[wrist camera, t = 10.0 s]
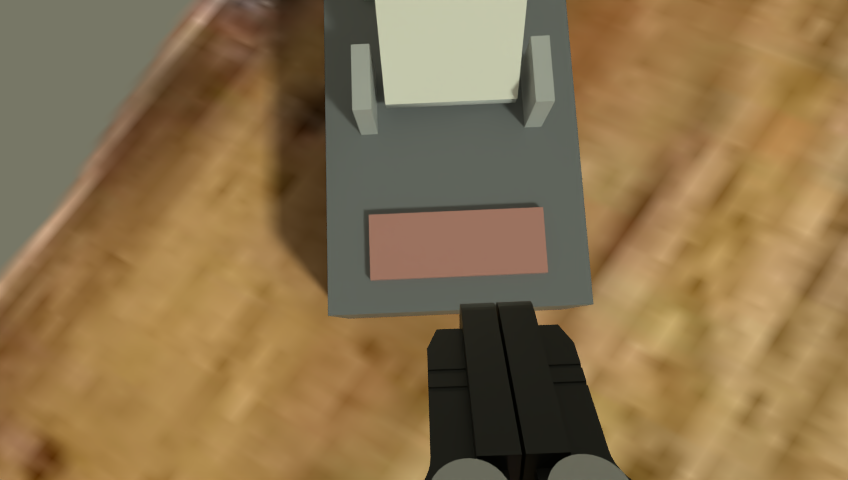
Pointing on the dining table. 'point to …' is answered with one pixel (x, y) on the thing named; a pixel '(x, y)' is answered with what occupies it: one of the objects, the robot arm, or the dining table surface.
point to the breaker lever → (450, 51)
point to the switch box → (452, 182)
